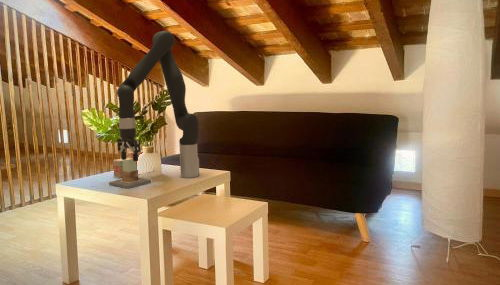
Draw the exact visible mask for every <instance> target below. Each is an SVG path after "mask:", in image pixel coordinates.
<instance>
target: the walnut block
mask: <svg viewBox="0 0 500 285" xmlns="http://www.w3.org/2000/svg"><path fill="white" fill-rule="evenodd" d="M121 172H122V178H121V179H122V181H124V182H129V183H130V182H134V181H138V178H139V175H138V170H136V171H132V172H125V171H121Z"/></svg>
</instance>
